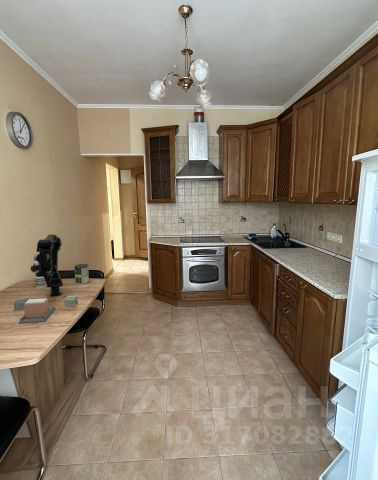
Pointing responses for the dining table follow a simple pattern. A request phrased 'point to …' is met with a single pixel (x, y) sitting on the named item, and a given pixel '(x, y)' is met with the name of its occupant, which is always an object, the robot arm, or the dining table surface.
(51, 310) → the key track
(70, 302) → the sage block
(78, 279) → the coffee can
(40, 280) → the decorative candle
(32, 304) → the terracotta key block
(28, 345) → the dining table surface
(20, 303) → the slate block
